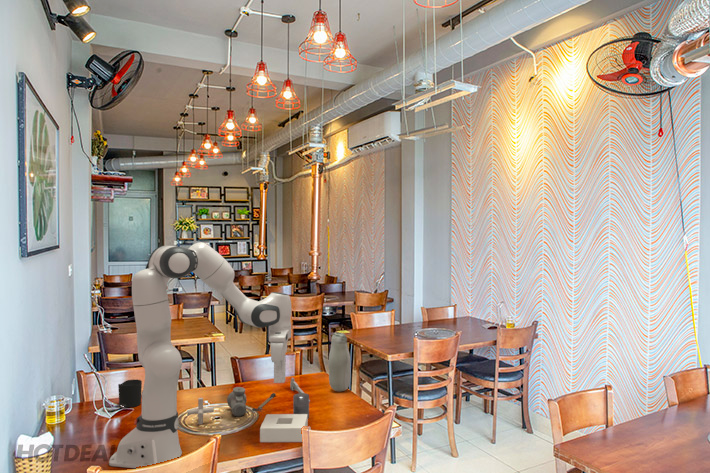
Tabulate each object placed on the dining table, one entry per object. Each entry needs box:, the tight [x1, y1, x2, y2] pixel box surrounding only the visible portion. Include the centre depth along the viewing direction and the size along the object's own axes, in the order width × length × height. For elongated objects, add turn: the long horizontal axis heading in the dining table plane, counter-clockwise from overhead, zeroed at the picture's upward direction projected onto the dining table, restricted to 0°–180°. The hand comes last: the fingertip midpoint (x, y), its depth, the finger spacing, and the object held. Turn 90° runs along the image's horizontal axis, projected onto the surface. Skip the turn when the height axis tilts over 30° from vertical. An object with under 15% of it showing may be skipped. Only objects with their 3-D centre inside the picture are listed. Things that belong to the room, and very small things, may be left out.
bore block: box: [259, 413, 309, 443], centre depth 182 cm, size 16×14×5 cm
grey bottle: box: [328, 332, 351, 392], centre depth 234 cm, size 10×10×28 cm
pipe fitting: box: [226, 386, 247, 418], centre depth 205 cm, size 12×8×10 cm
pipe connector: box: [186, 397, 215, 425], centre depth 193 cm, size 10×10×10 cm
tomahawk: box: [252, 392, 277, 412], centre depth 217 cm, size 22×7×1 cm, turn 167°
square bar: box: [273, 354, 287, 384], centre depth 191 cm, size 4×4×10 cm
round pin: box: [292, 392, 310, 419], centre depth 199 cm, size 6×6×9 cm
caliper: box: [289, 377, 311, 403], centre depth 227 cm, size 21×1×6 cm, turn 30°
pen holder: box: [118, 379, 143, 408], centre depth 215 cm, size 9×9×10 cm
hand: (279, 368), depth 191 cm, fingers closed on square bar, 4 cm apart
